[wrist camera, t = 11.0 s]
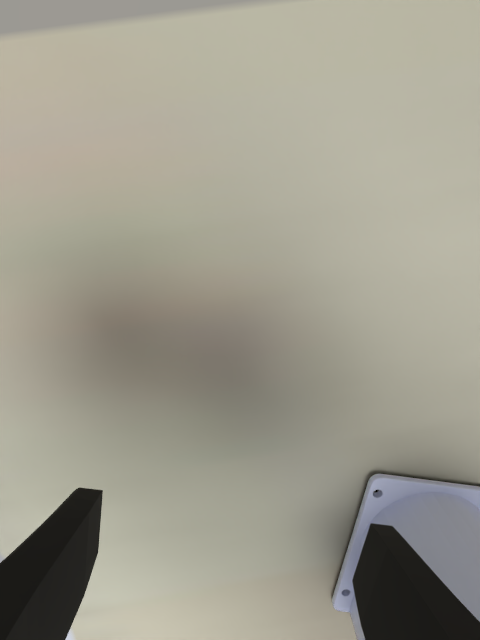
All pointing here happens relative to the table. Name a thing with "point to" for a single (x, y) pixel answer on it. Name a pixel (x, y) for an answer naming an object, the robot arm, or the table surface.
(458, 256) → the table surface
